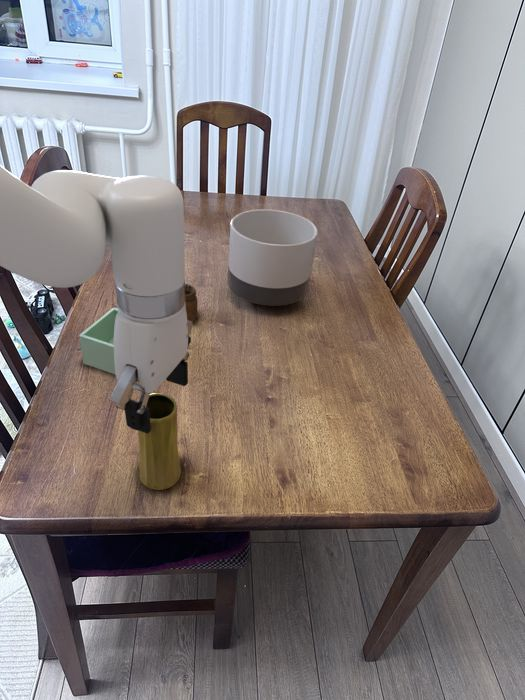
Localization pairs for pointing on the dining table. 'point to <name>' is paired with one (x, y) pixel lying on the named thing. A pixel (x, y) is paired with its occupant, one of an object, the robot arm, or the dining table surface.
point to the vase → (160, 444)
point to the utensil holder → (191, 301)
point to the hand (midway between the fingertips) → (159, 404)
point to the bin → (100, 343)
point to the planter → (270, 256)
